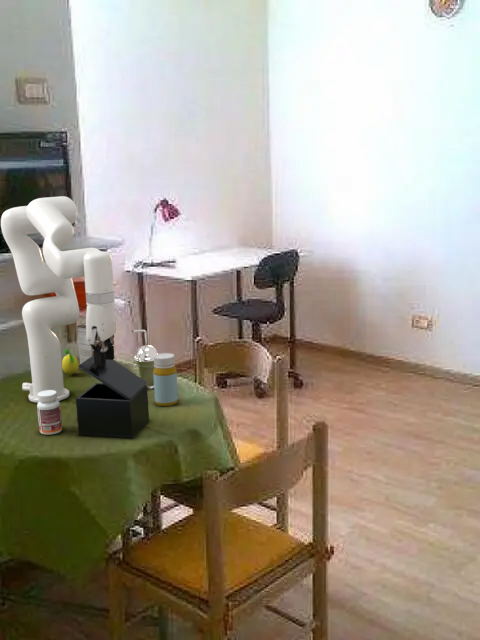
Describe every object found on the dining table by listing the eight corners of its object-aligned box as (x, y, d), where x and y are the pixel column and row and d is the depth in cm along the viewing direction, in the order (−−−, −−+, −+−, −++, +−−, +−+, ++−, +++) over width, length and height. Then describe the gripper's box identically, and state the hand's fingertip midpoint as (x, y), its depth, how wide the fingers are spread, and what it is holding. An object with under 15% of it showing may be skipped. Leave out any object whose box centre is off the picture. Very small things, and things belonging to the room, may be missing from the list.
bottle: (174, 407, 233) (171, 359, 229) (152, 406, 234) (149, 358, 231) (180, 399, 240) (178, 352, 236) (159, 398, 241) (156, 352, 237)
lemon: (66, 372, 271) (64, 344, 269) (82, 372, 270) (80, 345, 268) (58, 378, 265) (56, 349, 262) (74, 378, 264) (72, 350, 261)
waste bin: (78, 435, 213) (75, 398, 211) (98, 418, 226) (95, 382, 224) (132, 439, 210) (129, 401, 207) (149, 420, 223) (147, 385, 220)
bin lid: (78, 366, 208) (87, 350, 207) (98, 352, 221) (107, 337, 219) (128, 400, 207) (138, 384, 206) (146, 384, 220) (155, 369, 218)
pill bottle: (66, 430, 217) (63, 392, 214) (47, 437, 213) (43, 398, 210) (54, 425, 221) (51, 387, 219) (35, 431, 217) (31, 393, 215)
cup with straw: (164, 388, 250) (161, 328, 246) (137, 392, 247) (133, 331, 243) (158, 381, 258) (154, 322, 253) (131, 384, 255) (127, 325, 250)
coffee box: (97, 362, 281) (94, 319, 277) (111, 365, 278) (108, 321, 274) (80, 369, 274) (76, 325, 270) (93, 372, 270) (90, 327, 266)
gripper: (100, 291, 218) (104, 353, 223) (73, 304, 202) (78, 371, 207) (125, 291, 217) (129, 354, 221) (100, 305, 201) (105, 372, 205)
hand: (104, 361), depth 214 cm, fingers closed on bin lid, 5 cm apart
